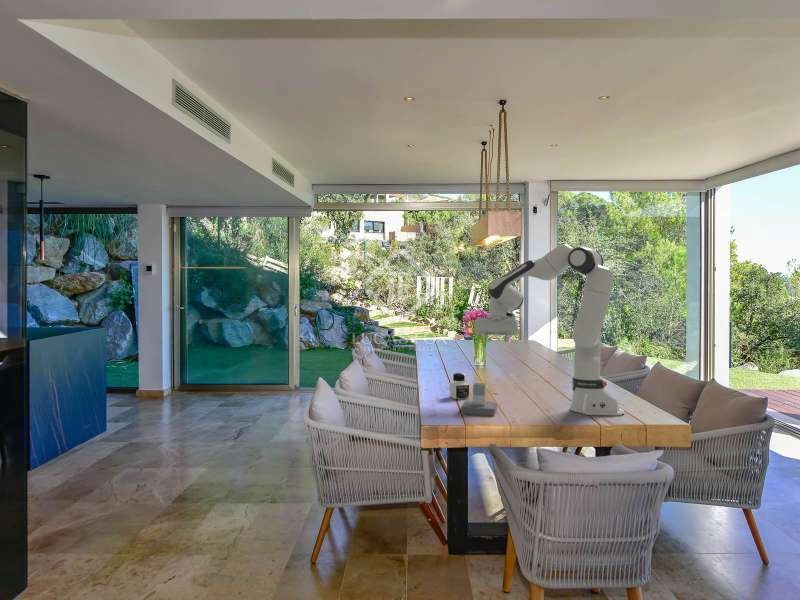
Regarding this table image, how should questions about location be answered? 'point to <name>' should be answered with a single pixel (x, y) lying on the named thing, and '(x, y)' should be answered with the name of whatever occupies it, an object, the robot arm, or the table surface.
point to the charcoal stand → (479, 408)
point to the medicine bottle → (459, 387)
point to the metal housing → (479, 394)
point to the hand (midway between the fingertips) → (495, 340)
